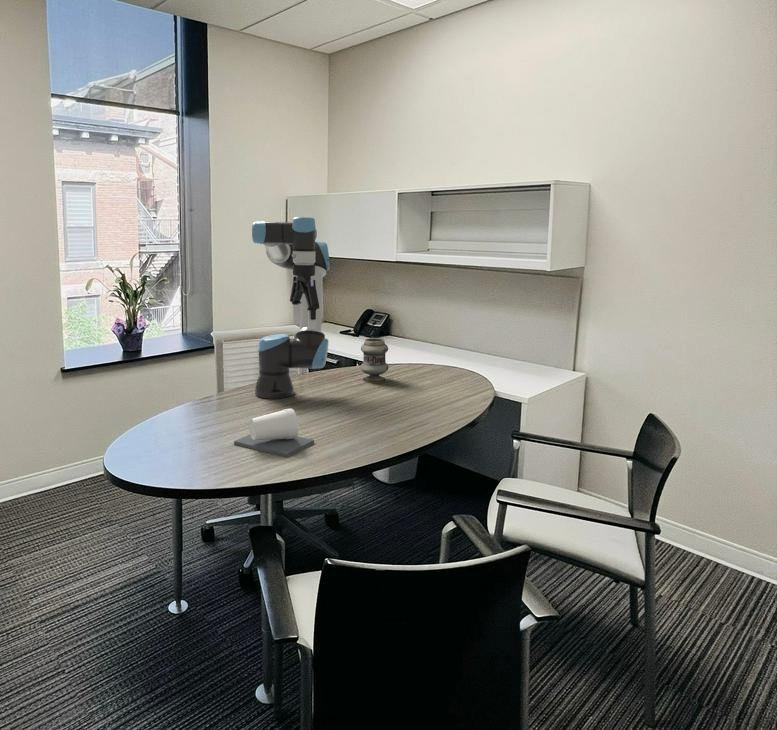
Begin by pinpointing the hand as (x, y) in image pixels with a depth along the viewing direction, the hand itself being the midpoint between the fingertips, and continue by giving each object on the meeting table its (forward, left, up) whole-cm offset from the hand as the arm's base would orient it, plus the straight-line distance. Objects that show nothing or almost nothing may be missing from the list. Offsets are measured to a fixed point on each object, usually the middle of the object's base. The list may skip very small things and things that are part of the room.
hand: (304, 326), depth 221 cm
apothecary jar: (-3, +56, -32) cm, 65 cm away
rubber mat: (+10, -30, -32) cm, 45 cm away
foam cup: (+6, -36, -26) cm, 45 cm away
